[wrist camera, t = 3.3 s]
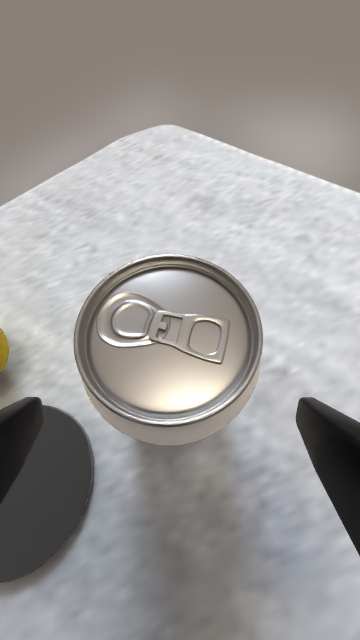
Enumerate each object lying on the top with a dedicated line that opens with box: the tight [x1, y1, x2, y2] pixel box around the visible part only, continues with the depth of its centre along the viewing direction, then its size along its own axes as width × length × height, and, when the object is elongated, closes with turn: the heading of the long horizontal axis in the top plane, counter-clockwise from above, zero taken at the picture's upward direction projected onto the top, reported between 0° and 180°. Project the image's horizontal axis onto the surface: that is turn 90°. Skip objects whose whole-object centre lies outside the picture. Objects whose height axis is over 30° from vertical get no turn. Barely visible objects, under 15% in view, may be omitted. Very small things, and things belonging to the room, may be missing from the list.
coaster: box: [0, 405, 94, 583], centre depth 15 cm, size 9×9×1 cm
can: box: [74, 254, 263, 446], centre depth 12 cm, size 6×6×12 cm
